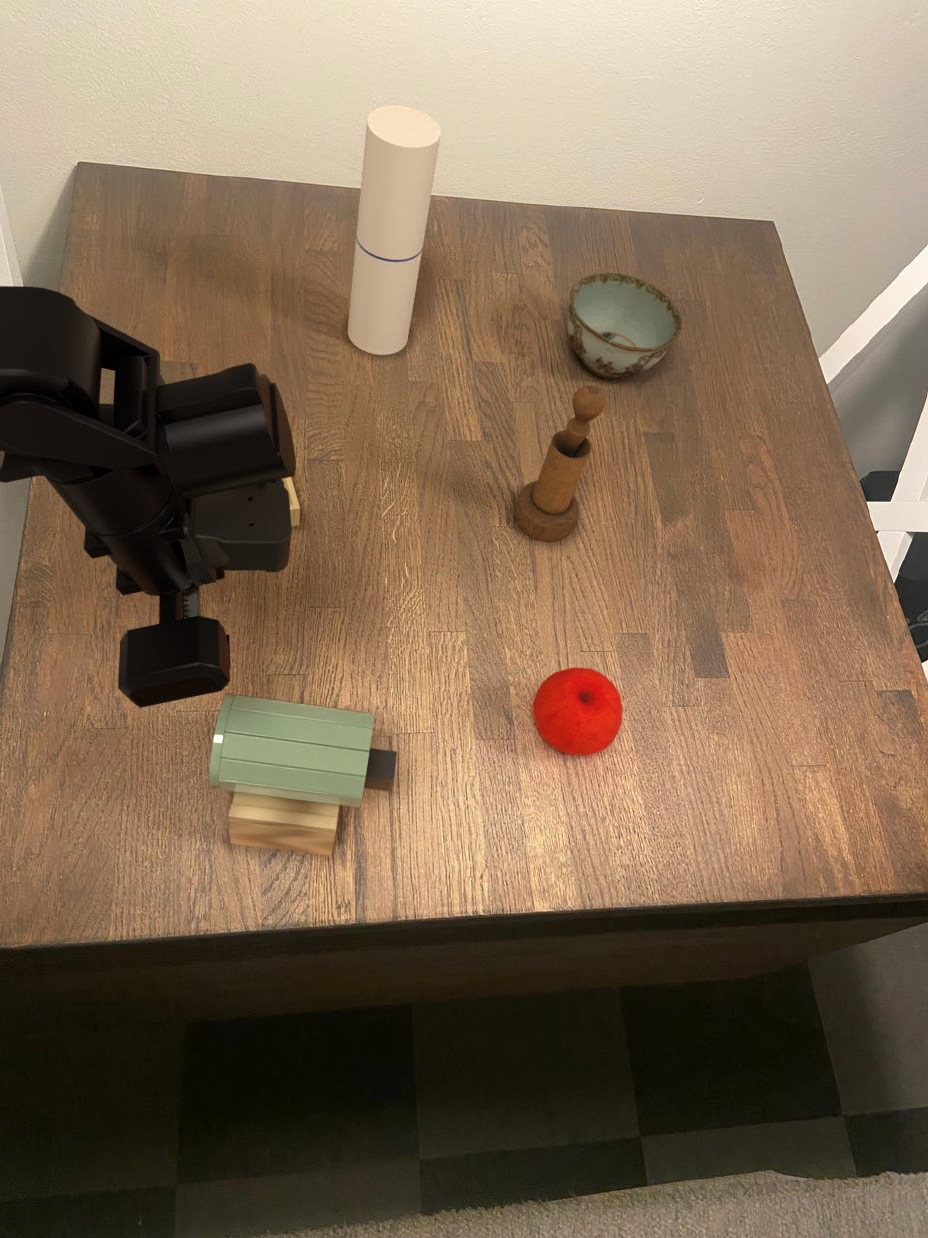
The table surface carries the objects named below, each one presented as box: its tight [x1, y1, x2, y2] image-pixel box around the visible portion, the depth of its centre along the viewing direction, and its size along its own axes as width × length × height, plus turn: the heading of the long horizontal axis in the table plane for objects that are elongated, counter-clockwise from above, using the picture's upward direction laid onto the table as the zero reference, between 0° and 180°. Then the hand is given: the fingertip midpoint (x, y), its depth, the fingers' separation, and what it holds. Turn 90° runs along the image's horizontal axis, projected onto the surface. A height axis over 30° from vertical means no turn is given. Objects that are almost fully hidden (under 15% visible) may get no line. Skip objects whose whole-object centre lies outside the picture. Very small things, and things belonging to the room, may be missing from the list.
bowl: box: [566, 272, 683, 379], centre depth 110 cm, size 14×13×8 cm
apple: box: [532, 667, 624, 756], centre depth 80 cm, size 8×8×7 cm
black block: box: [364, 747, 398, 792], centre depth 70 cm, size 6×2×2 cm, turn 87°
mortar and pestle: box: [513, 384, 606, 543], centre depth 90 cm, size 7×6×18 cm
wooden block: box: [227, 791, 340, 857], centre depth 73 cm, size 8×10×6 cm
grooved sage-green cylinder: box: [208, 692, 375, 808], centre depth 68 cm, size 11×7×7 cm, turn 86°
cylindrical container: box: [347, 105, 442, 356], centre depth 98 cm, size 7×7×25 cm
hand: (219, 629), depth 66 cm, fingers open, 9 cm apart
